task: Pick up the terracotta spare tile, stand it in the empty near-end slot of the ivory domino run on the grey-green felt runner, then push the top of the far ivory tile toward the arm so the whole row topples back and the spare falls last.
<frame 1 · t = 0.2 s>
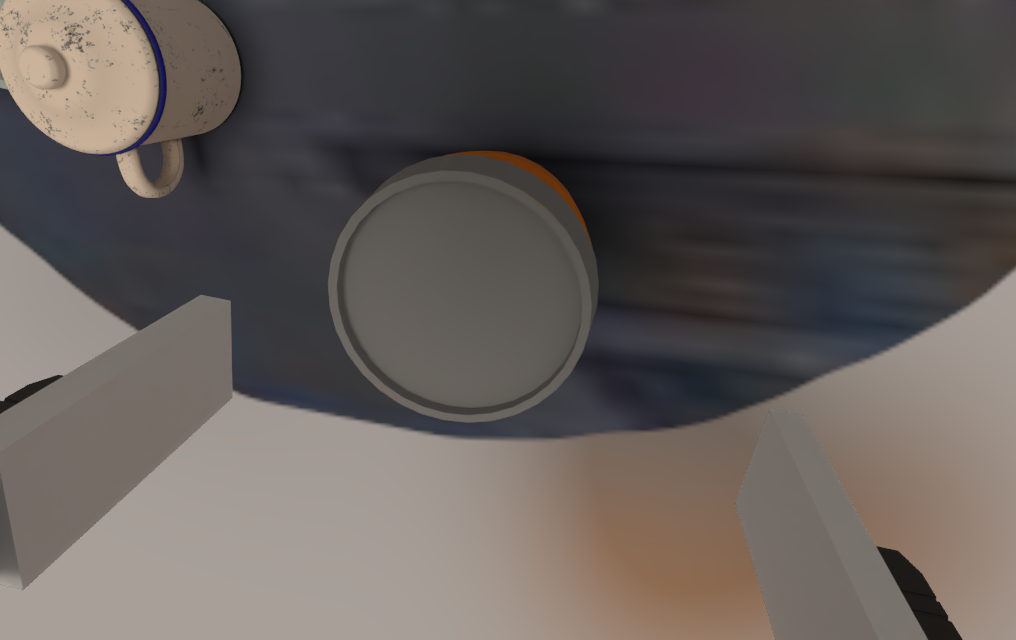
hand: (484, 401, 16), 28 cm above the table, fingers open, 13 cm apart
reusable coffee cup: (504, 225, 43), on the table
teacup with lid: (187, 88, 42), on the table
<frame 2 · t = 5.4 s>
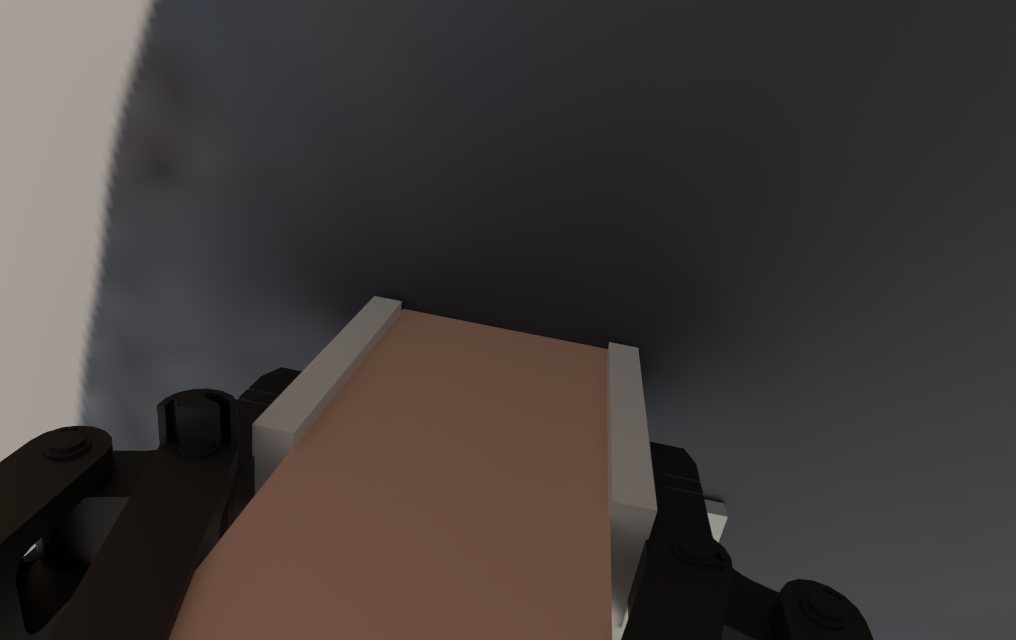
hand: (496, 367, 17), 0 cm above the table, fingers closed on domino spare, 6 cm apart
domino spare: (498, 361, 18), on the table, touching gripper
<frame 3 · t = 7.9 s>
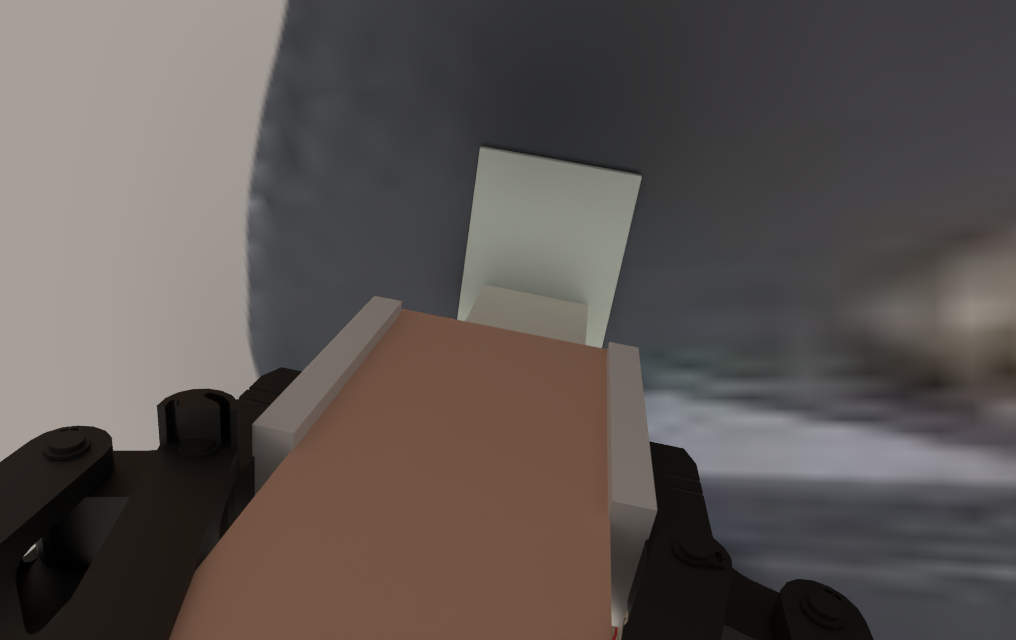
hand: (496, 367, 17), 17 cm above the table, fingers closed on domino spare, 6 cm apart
domino 2: (532, 311, 35), point 1 cm above the table, touching runner
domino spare: (498, 361, 18), point 17 cm above the table, touching gripper
runner: (514, 416, 38), on the table
when the fingers open (2 cm above the table, at t = 10.7 s): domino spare drops 1 cm, resting on runner.
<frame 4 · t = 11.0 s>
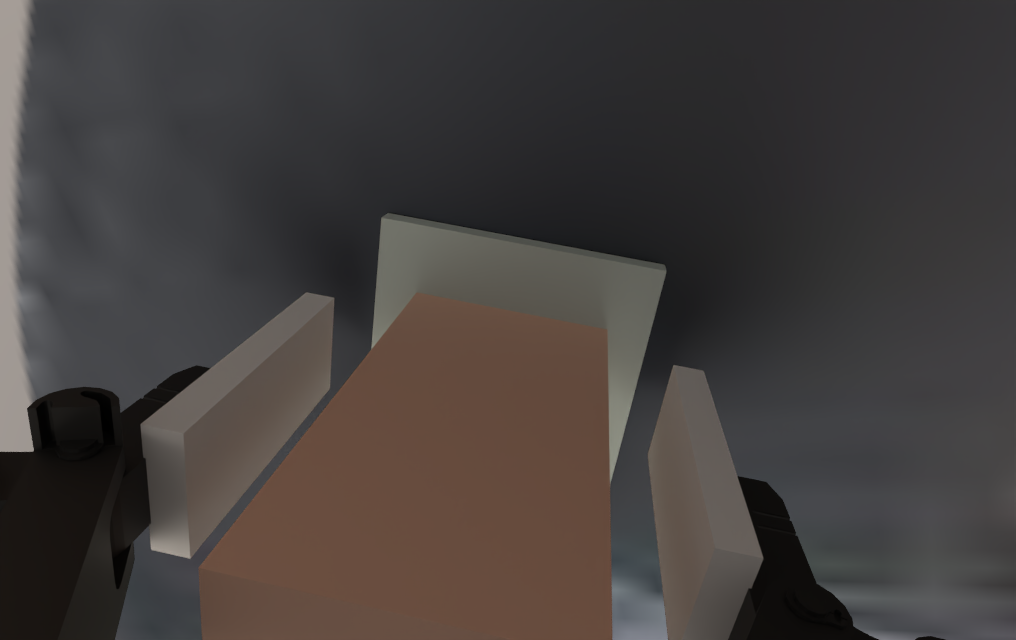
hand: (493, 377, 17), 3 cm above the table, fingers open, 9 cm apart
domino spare: (505, 341, 19), point 1 cm above the table, touching runner
runner: (459, 621, 24), on the table
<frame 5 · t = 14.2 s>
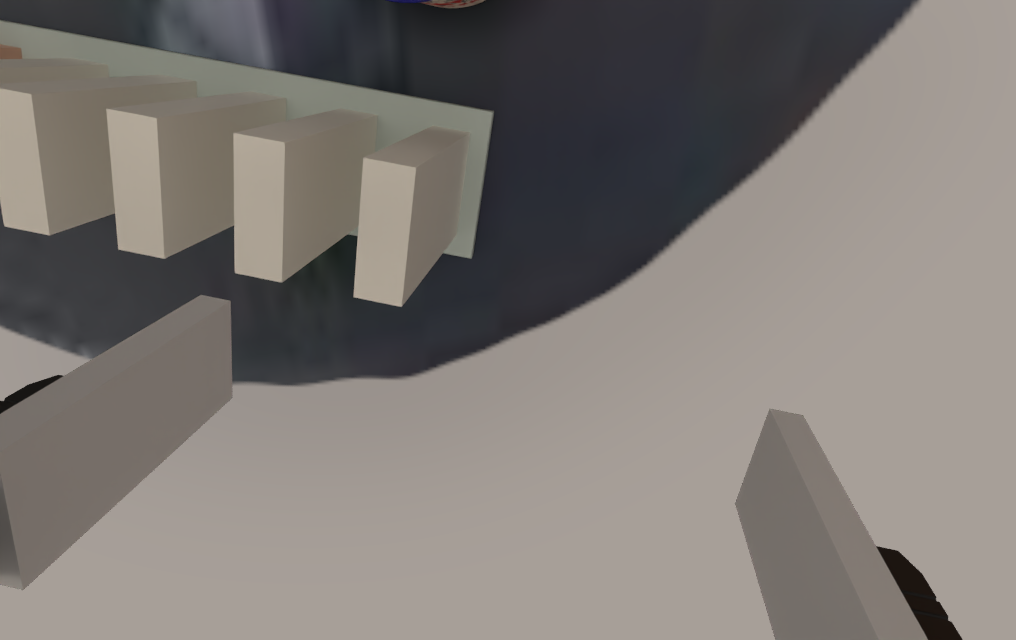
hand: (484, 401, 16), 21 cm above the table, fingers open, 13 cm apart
domino 2: (95, 114, 36), point 1 cm above the table, touching runner
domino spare: (11, 98, 36), point 1 cm above the table, touching runner
domino 4: (267, 147, 35), point 1 cm above the table, touching runner
domino 5: (355, 164, 35), point 1 cm above the table, touching runner
domino 6: (445, 181, 35), point 1 cm above the table, touching runner
runner: (221, 136, 36), on the table
domino 3: (180, 131, 36), point 1 cm above the table, touching runner
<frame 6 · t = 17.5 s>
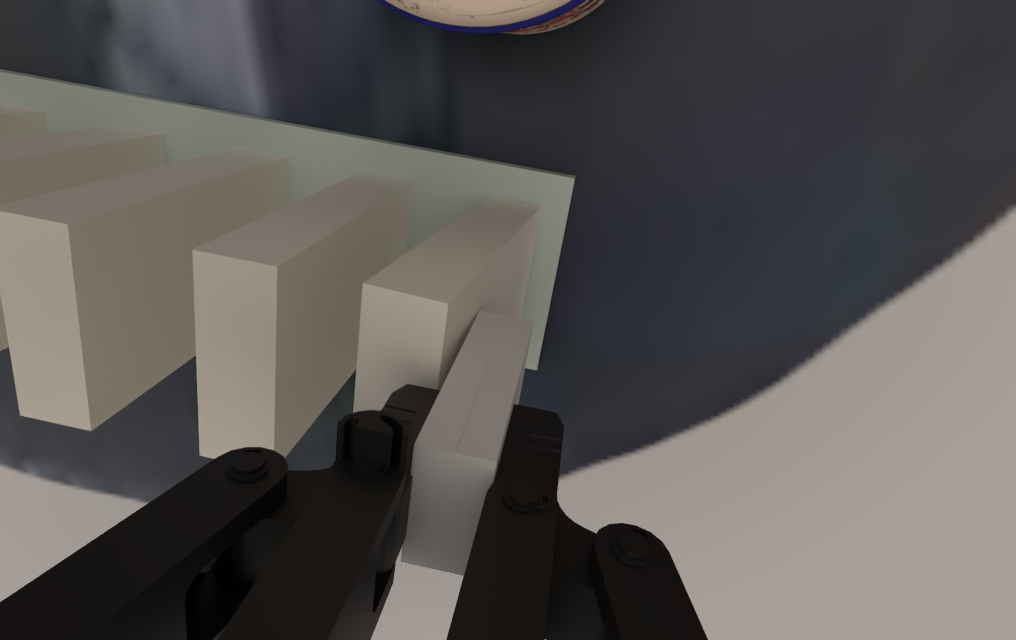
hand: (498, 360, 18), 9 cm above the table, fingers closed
domino 2: (30, 177, 27), point 1 cm above the table, touching runner
domino 4: (261, 222, 26), point 1 cm above the table, touching runner
domino 5: (381, 246, 26), point 1 cm above the table, touching runner
domino 6: (504, 271, 25), point 1 cm above the table, tilted 5°, touching gripper, runner
runner: (199, 205, 27), on the table
domino 3: (144, 199, 26), point 1 cm above the table, touching runner
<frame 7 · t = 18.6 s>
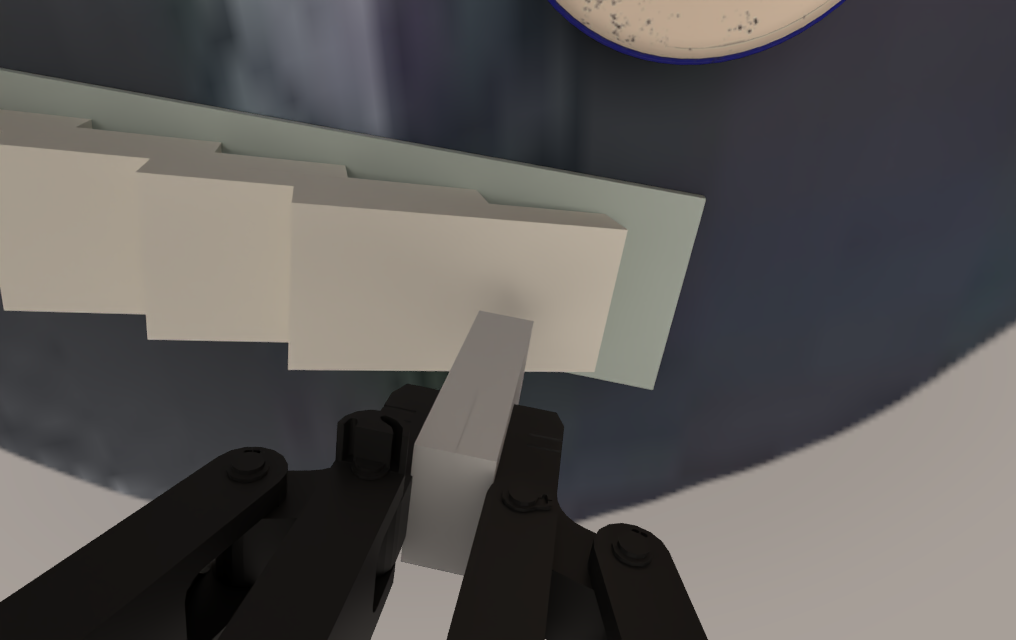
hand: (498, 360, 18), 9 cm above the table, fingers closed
domino 2: (90, 195, 26), point 2 cm above the table, tilted 66°, touching domino 3, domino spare
domino 4: (342, 243, 25), point 2 cm above the table, tilted 66°, touching domino 3, domino 5, runner
domino 5: (472, 268, 25), point 2 cm above the table, tilted 67°, touching domino 4, domino 6, runner
domino 6: (599, 293, 24), point 2 cm above the table, tilted 67°, touching domino 5
runner: (311, 224, 26), on the table
domino 3: (219, 219, 25), point 2 cm above the table, tilted 66°, touching domino 2, domino 4, runner
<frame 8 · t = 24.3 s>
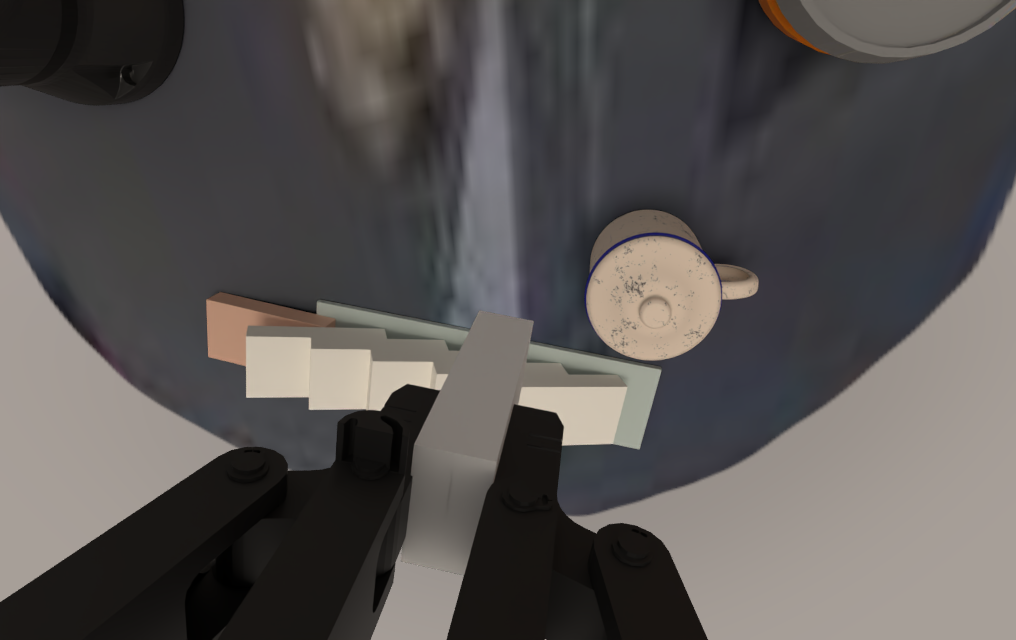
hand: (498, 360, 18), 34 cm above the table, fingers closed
domino 2: (383, 362, 56), point 2 cm above the table, tilted 66°, touching domino 3, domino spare
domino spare: (329, 352, 56), point 2 cm above the table, tilted 94°, touching domino 2, runner
domino 4: (499, 385, 56), point 2 cm above the table, tilted 66°, touching domino 3, domino 5, runner
domino 5: (558, 397, 55), point 2 cm above the table, tilted 67°, touching domino 4, domino 6, runner
domino 6: (615, 409, 55), point 2 cm above the table, tilted 67°, touching domino 5
teacup with lid: (663, 261, 51), on the table
runner: (481, 373, 57), on the table
domino 3: (442, 373, 56), point 2 cm above the table, tilted 66°, touching domino 2, domino 4, runner
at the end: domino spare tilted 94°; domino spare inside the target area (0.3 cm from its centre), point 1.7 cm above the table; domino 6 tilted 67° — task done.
